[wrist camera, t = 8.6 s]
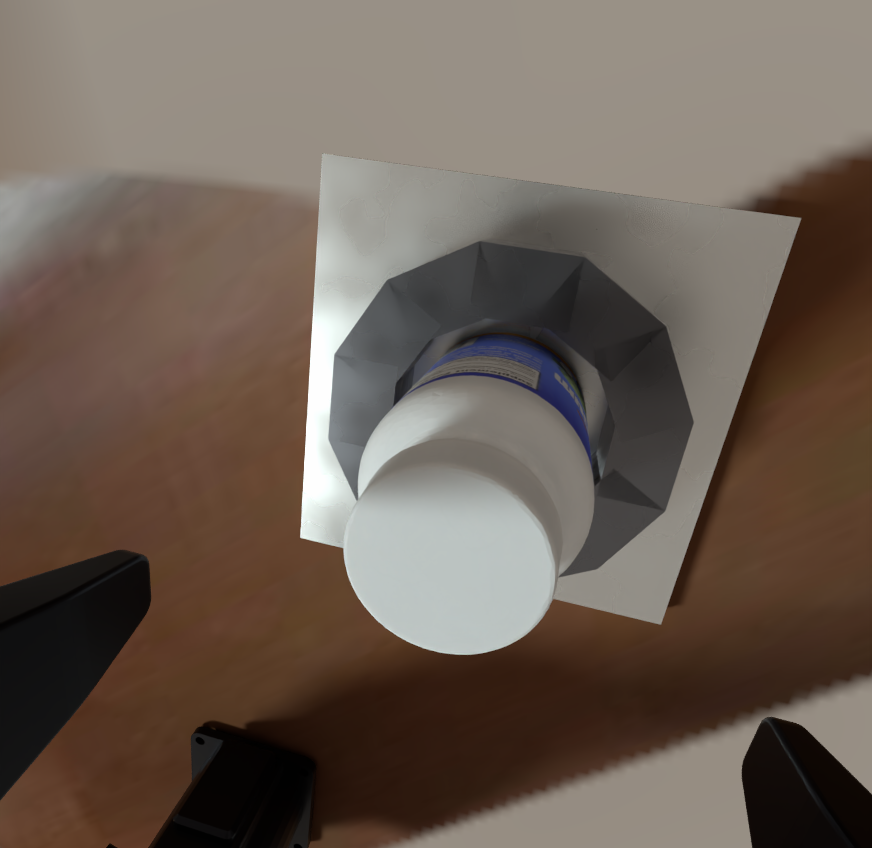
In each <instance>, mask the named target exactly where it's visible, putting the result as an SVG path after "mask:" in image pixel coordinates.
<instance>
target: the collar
mask: <svg viewBox="0 0 872 848" xmlns="http://www.w3.org/2000/svg"><path fill="white" fill-rule="evenodd" d="M800 221H801V218H797V217H789V216H782V215H774V214H767V213H760V212H752V211H745V210H737V209H730V208H723V207H715V206H708V205H700V204H693V203H686V202H678V201H671V200H663V199H656V198H648V197H641V196H634V195H626V194H619V193H612V192H604V191H597V190H589V189H582V188H575V187H567V186H560V185H552V184H545V183H538V182H530V181H523V180H515V179H508V178H500V177H493V176H486V175H478V174H471V173H464V172H456V171H449V170H441V169H434V168H426V167H419V166H412V165H404V164H397V163H390V162H382V161H375V160H367V159H360V158H353V157H345V156H338V155H330V154H322V167H321V184H320V201H319V219H318V236H317V254H316V272H315V289H314V307H313V325H312V342H311V360H310V377H309V395H308V413H307V430H306V448H305V466H304V483H303V501H302V518H301V536H300V538H304V539H308V540H312V541H316V542H320V543H325V544H329V545H333V546H337V547H341V548H344V534H345V529H346V524H347V521H348V518H349V515H350V513H351V511H352V509H353V507H354V505H355V504H356V502H357V500H358V474H359V468H360V462H361V458H362V455H363V452H364V450H365V447H366V445H367V442H368V440H369V438H370V436H371V435H372V433H373V431H374V430H375V428H376V427H377V425H378V424H379V423H380V421H381V420H382V419H383V418H384V417H385V415H386V414H387V413H388V412H389V411H390V410H391V409H392V407H393V406H394V405H396V403H397V402H398V401H399V400H400V399H401V398H402V397H403V396H404V395H405V394H406V393H407V392H408V391H409V390H410V389H411V388H412V387H413V386H414V385H415V384H416V383H417V382H418V381H419V380H420V379H421V378H422V377H423V376H424V375H425V374H426V373H427V372H428V371H429V370H430V369H431V367H432V366H433V365H434V364H435V363H436V362H437V361H438V360H439V359H440V358H441V357H442V356H443V355H444V354H445V353H446V352H447V351H448V350H449V349H451V348H452V347H453V346H454V345H456V344H457V343H459V342H461V341H463V340H465V339H468V338H471V337H473V336H476V335H479V334H483V333H489V332H512V333H518V334H523V335H526V336H529V337H532V338H534V339H537V340H539V341H541V342H543V343H545V344H546V345H548V346H550V347H551V348H552V349H554V350H555V351H556V352H557V353H558V354H559V355H561V356H562V357H563V359H564V360H565V361H566V362H567V363H568V364H569V366H570V367H571V369H572V370H573V372H574V373H575V375H576V377H577V379H578V381H579V384H580V386H581V389H582V392H583V396H584V400H585V406H586V415H587V424H588V433H589V443H590V452H591V461H592V472H593V480H594V498H595V500H594V513H593V519H592V523H591V527H590V530H589V534H588V536H587V538H586V541H585V543H584V545H583V547H582V549H581V550H580V552H579V553H578V555H577V556H576V558H575V559H574V561H573V562H572V563H571V565H570V566H569V567H568V568H567V569H566V570H565V571H564V572H563V573H562V574H561V575H560V576H559V577H558V581H557V588H556V591H555V594H554V597H553V599H557V600H561V601H565V602H569V603H573V604H577V605H582V606H586V607H590V608H594V609H598V610H602V611H606V612H611V613H615V614H619V615H623V616H627V617H631V618H635V619H640V620H644V621H648V622H652V623H656V624H660V625H661V623H662V620H663V617H664V614H665V611H666V608H667V606H668V603H669V600H670V597H671V594H672V591H673V588H674V585H675V582H676V580H677V577H678V574H679V571H680V568H681V565H682V562H683V559H684V556H685V553H686V551H687V548H688V545H689V542H690V539H691V536H692V533H693V530H694V527H695V525H696V522H697V519H698V516H699V513H700V510H701V507H702V504H703V501H704V498H705V496H706V493H707V490H708V487H709V484H710V481H711V478H712V475H713V472H714V470H715V467H716V464H717V461H718V458H719V455H720V452H721V449H722V446H723V444H724V441H725V438H726V435H727V432H728V429H729V426H730V423H731V420H732V417H733V415H734V412H735V409H736V406H737V403H738V400H739V397H740V394H741V391H742V389H743V386H744V383H745V380H746V377H747V374H748V371H749V368H750V365H751V363H752V360H753V357H754V354H755V351H756V348H757V345H758V342H759V339H760V336H761V334H762V331H763V328H764V325H765V322H766V319H767V316H768V313H769V310H770V308H771V305H772V302H773V299H774V296H775V293H776V290H777V287H778V284H779V282H780V279H781V276H782V273H783V270H784V267H785V264H786V261H787V258H788V255H789V253H790V250H791V247H792V244H793V241H794V238H795V235H796V232H797V229H798V227H799V224H800Z"/></svg>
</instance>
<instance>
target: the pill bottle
mask: <svg viewBox="0 0 872 848" xmlns="http://www.w3.org/2000/svg"><path fill="white" fill-rule="evenodd" d="M594 500H595V498H594V480H593V472H592V461H591V452H590V443H589V433H588V424H587V415H586V406H585V400H584V396H583V392H582V389H581V386H580V384H579V381H578V379H577V377H576V375H575V373H574V372H573V370H572V369H571V367H570V366H569V364H568V363H567V362H566V361H565V360H564V359H563V357H562V356H561V355H559V354H558V353H557V352H556V351H555V350H554V349H552V348H551V347H550V346H548V345H546V344H545V343H543V342H541V341H539V340H537V339H534V338H532V337H529V336H526V335H523V334H518V333H512V332H489V333H483V334H479V335H476V336H473V337H471V338H468V339H465V340H463V341H461V342H459V343H457V344H456V345H454V346H453V347H452V348H451V349H449V350H448V351H447V352H446V353H445V354H444V355H443V356H442V357H441V358H440V359H439V360H438V361H437V362H436V363H435V364H434V365H433V366H432V367H431V369H430V370H429V371H428V372H427V373H426V374H425V375H424V376H423V377H422V378H421V379H420V380H419V381H418V382H417V383H416V384H415V385H414V386H413V387H412V388H411V389H410V390H409V391H408V392H407V393H406V394H405V395H404V396H403V397H402V398H401V399H400V400H399V401H398V402H397V403H396V405H394V406H393V407H392V409H391V410H390V411H389V412H388V413H387V414H386V415H385V417H384V418H383V419H382V420H381V421H380V423H379V424H378V425H377V427H376V428H375V430H374V431H373V433H372V435H371V436H370V438H369V440H368V442H367V445H366V447H365V450H364V452H363V455H362V458H361V462H360V468H359V474H358V500H357V502H356V504H355V505H354V507H353V509H352V511H351V513H350V515H349V518H348V521H347V524H346V529H345V534H344V560H345V565H346V569H347V573H348V577H349V579H350V582H351V584H352V587H353V589H354V591H355V592H356V594H357V596H358V598H359V599H360V601H361V602H362V604H363V605H364V606H365V607H366V609H367V610H368V611H369V612H370V613H371V615H372V616H373V617H374V618H375V619H376V620H377V621H378V622H379V623H381V624H382V625H383V626H384V627H385V628H387V629H388V630H390V631H391V632H393V633H394V634H396V635H397V636H399V637H400V638H402V639H404V640H406V641H407V642H410V643H412V644H414V645H417V646H419V647H422V648H424V649H428V650H432V651H436V652H440V653H447V654H456V655H471V654H479V653H486V652H490V651H493V650H497V649H500V648H503V647H505V646H508V645H510V644H512V643H514V642H515V641H517V640H519V639H520V638H522V637H523V636H525V635H526V634H527V633H528V632H530V631H531V630H532V629H533V628H534V627H535V626H536V625H537V624H538V623H539V621H540V620H541V619H542V618H543V617H544V615H545V613H546V611H547V610H548V608H549V606H550V604H551V602H552V600H553V597H554V594H555V591H556V588H557V581H558V577H559V576H560V575H561V574H562V573H563V572H564V571H565V570H566V569H567V568H568V567H569V566H570V565H571V563H572V562H573V561H574V559H575V558H576V556H577V555H578V553H579V552H580V550H581V549H582V547H583V545H584V543H585V541H586V538H587V536H588V534H589V530H590V527H591V523H592V519H593V513H594Z"/></svg>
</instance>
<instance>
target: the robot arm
mask: <svg viewBox="0 0 872 848" xmlns="http://www.w3.org/2000/svg"><path fill="white" fill-rule="evenodd" d="M150 602H151V586H150V569H149V561H148V559H147V557H146V556H144V555H142V554H139V553H135V552H131V551H127V550H116V551H113V552H110V553H107V554H103V555H100V556H97V557H94V558H91V559H87V560H84V561H81V562H78V563H74V564H71V565H68V566H65V567H62V568H58V569H55V570H52V571H49V572H45V573H42V574H39V575H36V576H33V577H29V578H26V579H23V580H20V581H16V582H13V583H10V584H7V585H4V586H0V800H1V799H2V798H3V797H4V796H5V794H6V793H7V792H8V791H9V790H10V788H11V787H12V786H13V785H14V784H15V783H16V781H17V780H18V779H19V778H20V777H21V776H22V774H23V773H24V772H25V771H26V770H27V769H28V767H29V766H30V765H31V764H32V763H33V761H34V760H35V759H36V758H37V757H38V756H39V754H40V753H41V752H42V751H43V750H44V749H45V747H46V746H47V745H48V744H49V743H50V742H51V740H52V739H53V738H54V737H55V736H56V734H57V733H58V732H59V731H60V730H61V729H62V727H63V726H64V725H65V724H66V723H67V722H68V720H69V719H70V718H71V717H72V716H73V714H74V713H75V712H76V711H77V709H78V708H79V707H80V706H81V704H82V703H83V702H84V701H85V699H86V698H87V697H88V695H89V694H90V693H91V691H92V690H93V689H94V687H95V686H96V684H97V683H98V682H99V680H100V679H101V677H102V676H103V675H104V673H105V672H106V670H107V669H108V667H109V666H110V665H111V663H112V662H113V660H114V659H115V658H116V656H117V655H118V653H119V652H120V651H121V649H122V648H123V646H124V645H125V643H126V642H127V641H128V639H129V638H130V636H131V635H132V634H133V632H134V631H135V629H136V628H137V627H138V625H139V624H140V622H141V621H142V619H143V618H144V617H145V615H146V613H147V611H148V609H149V606H150ZM191 758H192V782H191V784H190V785H189V787H188V788H187V790H186V791H185V793H184V794H183V796H182V797H181V799H180V800H179V802H178V803H177V805H176V806H175V808H174V809H173V811H172V813H171V814H170V816H169V817H168V819H167V820H166V822H165V823H164V825H163V826H162V828H161V829H160V831H159V832H158V834H157V835H156V837H155V838H154V840H153V841H152V843H151V844H150V846H149V847H148V848H308V847H309V844H310V840H311V828H312V815H313V803H314V791H315V779H316V765H315V763H314V762H313V761H312V760H311V759H309V758H306V757H302V756H299V755H296V754H292V753H289V752H286V751H283V750H279V749H276V748H273V747H269V746H266V745H263V744H259V743H256V742H253V741H249V740H246V739H243V738H239V737H236V736H233V735H229V734H226V733H223V732H219V731H216V730H213V729H209V728H206V727H198V728H197V729H196V730H195V732H194V733H193V734H192V736H191ZM742 782H743V789H744V795H745V802H746V809H747V815H748V822H749V829H750V836H751V842H752V848H872V794H871V793H870V792H869V791H868V790H867V789H866V788H865V787H864V786H863V785H862V784H861V783H860V782H859V781H858V780H857V779H856V778H855V777H854V776H853V775H851V773H850V772H849V771H848V770H847V769H846V768H845V767H843V765H842V764H841V763H840V762H839V761H838V760H837V759H836V758H835V757H834V756H833V755H832V754H830V753H829V751H828V750H827V749H825V748H824V747H823V746H822V745H821V744H820V743H819V742H818V741H817V740H816V739H815V738H814V737H813V736H812V735H811V734H810V733H809V732H808V731H807V730H806V729H805V728H804V727H802V726H801V725H799V724H797V723H793V722H789V721H786V720H782V719H778V718H774V717H767V718H765V719H764V720H762V722H761V723H760V725H759V727H758V729H757V732H756V734H755V736H754V738H753V740H752V742H751V745H750V747H749V749H748V751H747V753H746V756H745V758H744V760H743V765H742ZM106 848H117V847H115V846H114V845H112V844H109V845H108V846H107V847H106Z"/></svg>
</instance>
